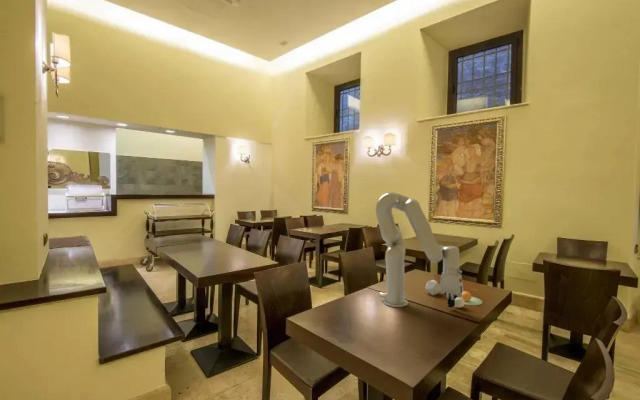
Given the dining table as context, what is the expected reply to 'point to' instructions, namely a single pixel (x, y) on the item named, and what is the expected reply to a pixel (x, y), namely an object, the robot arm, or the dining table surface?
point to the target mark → (474, 301)
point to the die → (433, 287)
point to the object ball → (466, 296)
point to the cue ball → (459, 302)
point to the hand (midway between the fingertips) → (451, 306)
